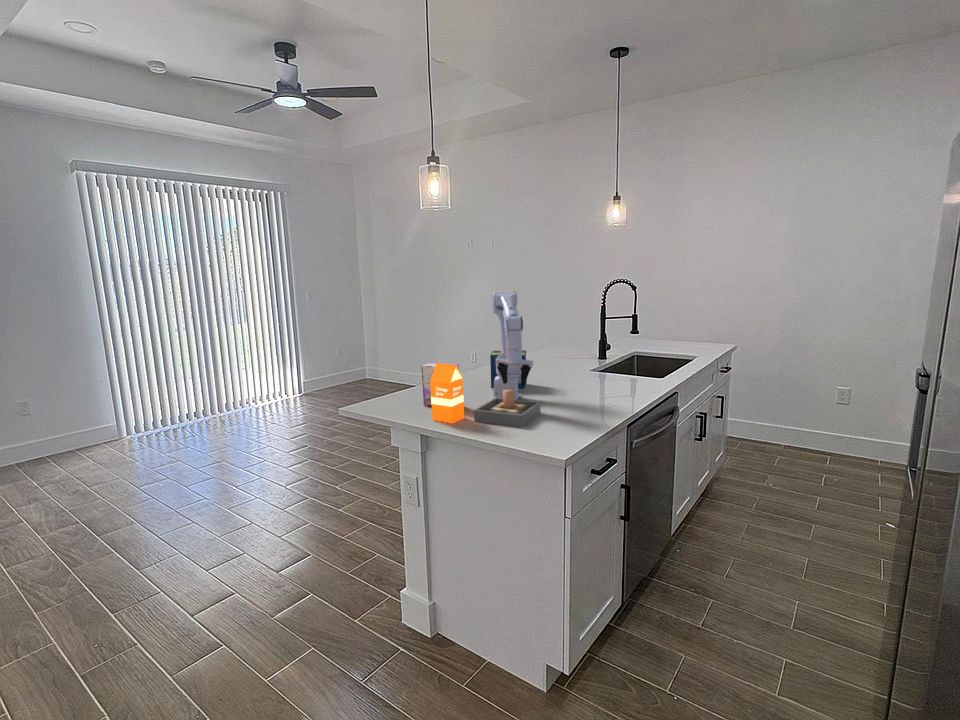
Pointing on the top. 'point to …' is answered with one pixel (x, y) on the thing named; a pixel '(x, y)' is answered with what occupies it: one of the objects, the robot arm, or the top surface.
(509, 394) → the peg
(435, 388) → the orange juice
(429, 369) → the candy box
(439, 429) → the top surface
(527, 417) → the tray
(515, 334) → the robot arm
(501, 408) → the plate
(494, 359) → the protein box
